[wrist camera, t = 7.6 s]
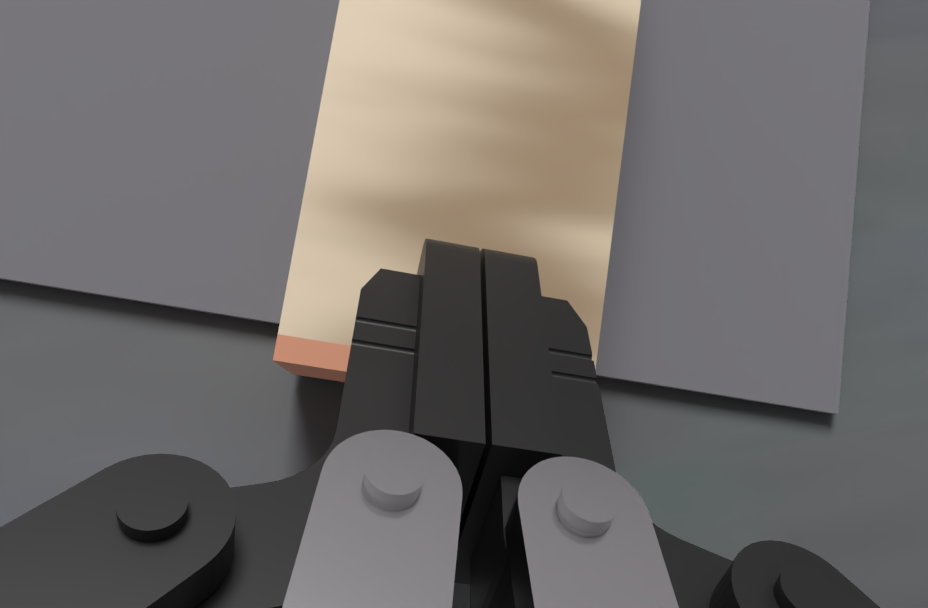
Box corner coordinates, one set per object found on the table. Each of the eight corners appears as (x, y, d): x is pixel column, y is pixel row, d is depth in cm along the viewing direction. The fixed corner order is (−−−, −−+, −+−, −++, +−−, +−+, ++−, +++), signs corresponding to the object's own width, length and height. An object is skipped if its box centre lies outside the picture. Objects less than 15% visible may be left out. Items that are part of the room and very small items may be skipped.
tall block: (521, 409, 18) (599, -158, 20) (590, 409, 13) (683, -345, 15) (293, 374, 17) (398, -208, 19) (273, 360, 12) (417, -421, 14)
